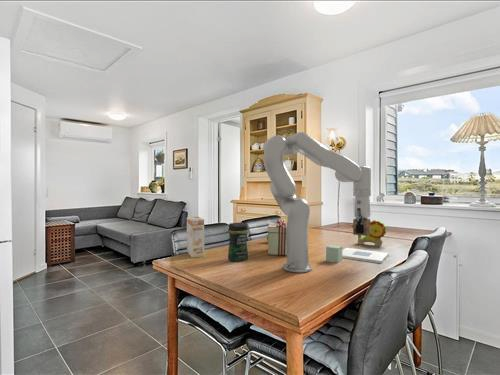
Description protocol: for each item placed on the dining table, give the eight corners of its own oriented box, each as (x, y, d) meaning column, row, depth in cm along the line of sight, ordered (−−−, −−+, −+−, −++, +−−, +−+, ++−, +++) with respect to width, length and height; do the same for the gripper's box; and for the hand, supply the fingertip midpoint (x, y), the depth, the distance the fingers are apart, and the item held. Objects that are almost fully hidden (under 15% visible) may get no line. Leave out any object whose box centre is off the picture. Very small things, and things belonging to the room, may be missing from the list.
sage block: (338, 263, 137) (338, 248, 137) (326, 261, 141) (326, 246, 140) (342, 260, 142) (342, 246, 142) (330, 258, 145) (330, 244, 145)
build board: (381, 263, 135) (381, 260, 135) (335, 256, 148) (335, 254, 148) (388, 255, 150) (388, 252, 150) (346, 249, 163) (346, 247, 163)
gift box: (303, 255, 151) (303, 222, 151) (267, 255, 151) (267, 223, 151) (298, 248, 168) (298, 218, 168) (266, 248, 168) (266, 218, 168)
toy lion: (357, 244, 177) (357, 219, 176) (359, 242, 181) (359, 218, 181) (385, 247, 168) (385, 221, 168) (386, 245, 173) (386, 220, 172)
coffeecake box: (205, 256, 151) (204, 219, 150) (191, 258, 148) (190, 220, 148) (199, 250, 165) (198, 216, 164) (186, 251, 162) (186, 216, 162)
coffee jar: (232, 263, 138) (232, 224, 138) (226, 259, 145) (225, 222, 145) (250, 260, 143) (250, 222, 143) (243, 256, 150) (242, 220, 150)
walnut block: (366, 236, 129) (367, 220, 129) (353, 234, 133) (353, 219, 133) (370, 234, 134) (370, 219, 134) (356, 232, 138) (356, 218, 138)
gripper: (365, 193, 124) (365, 235, 124) (374, 192, 138) (374, 230, 138) (347, 193, 128) (347, 234, 129) (358, 192, 142) (358, 228, 143)
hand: (361, 231), depth 134 cm, fingers closed on walnut block, 6 cm apart
